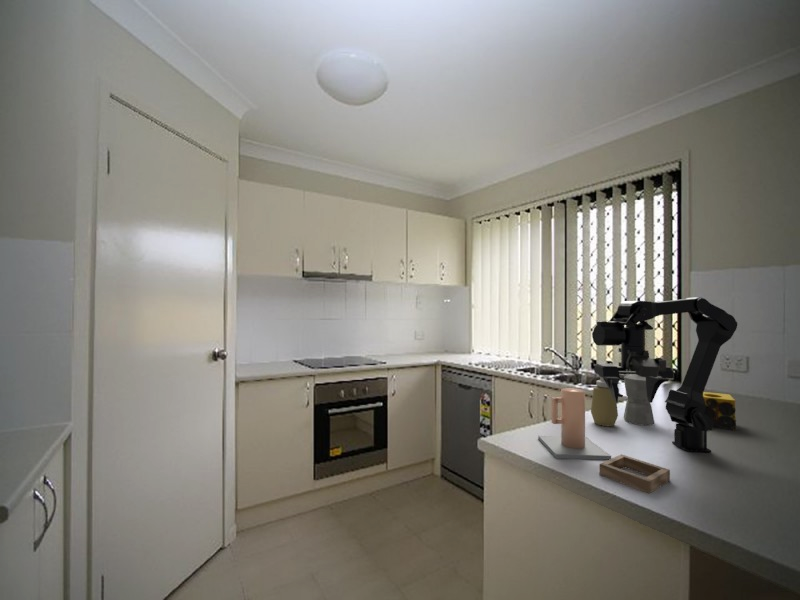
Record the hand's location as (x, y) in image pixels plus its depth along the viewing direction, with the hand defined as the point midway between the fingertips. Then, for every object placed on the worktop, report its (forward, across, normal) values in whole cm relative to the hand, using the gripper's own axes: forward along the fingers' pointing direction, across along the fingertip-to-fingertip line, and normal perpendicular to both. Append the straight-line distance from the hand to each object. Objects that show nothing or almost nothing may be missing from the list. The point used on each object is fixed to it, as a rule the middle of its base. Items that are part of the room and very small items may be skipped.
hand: (632, 401), depth 103 cm
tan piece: (+12, -18, -1) cm, 22 cm away
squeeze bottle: (+13, +3, +22) cm, 26 cm away
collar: (+13, -10, -18) cm, 24 cm away
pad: (+13, -17, -1) cm, 21 cm away
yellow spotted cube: (+13, +41, +25) cm, 50 cm away
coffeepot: (+13, +16, +27) cm, 34 cm away
